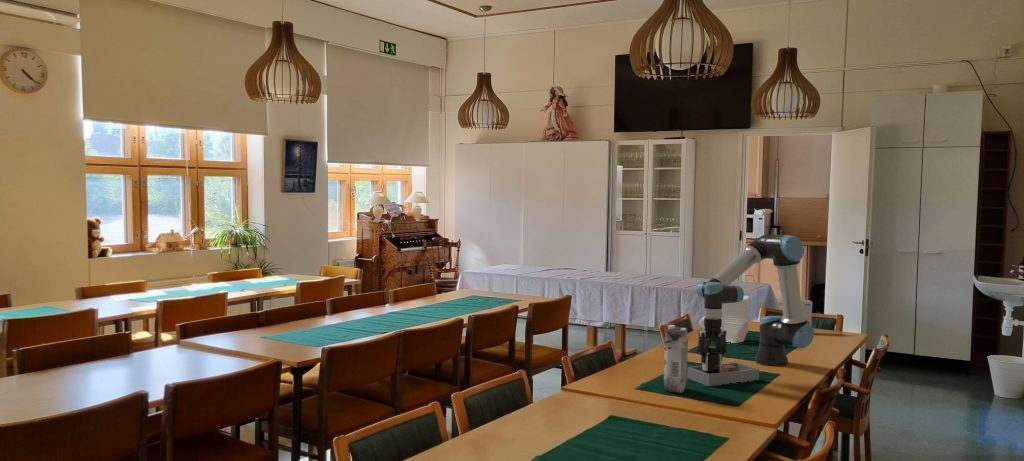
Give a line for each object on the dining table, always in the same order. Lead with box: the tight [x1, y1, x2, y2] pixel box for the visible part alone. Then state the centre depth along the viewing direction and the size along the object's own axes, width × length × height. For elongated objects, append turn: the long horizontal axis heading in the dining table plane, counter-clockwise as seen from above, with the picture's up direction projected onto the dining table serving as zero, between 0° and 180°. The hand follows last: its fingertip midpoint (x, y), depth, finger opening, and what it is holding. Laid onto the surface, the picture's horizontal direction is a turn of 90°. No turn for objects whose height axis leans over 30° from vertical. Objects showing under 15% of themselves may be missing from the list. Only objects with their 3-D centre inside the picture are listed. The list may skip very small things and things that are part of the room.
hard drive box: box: [782, 299, 813, 326], centre depth 437 cm, size 16×8×20 cm, turn 81°
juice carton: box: [663, 324, 689, 394], centre depth 301 cm, size 9×10×27 cm
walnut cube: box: [720, 365, 737, 373], centre depth 322 cm, size 5×5×5 cm
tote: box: [687, 361, 760, 387], centre depth 320 cm, size 28×15×5 cm, turn 114°
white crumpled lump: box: [698, 294, 751, 343], centre depth 411 cm, size 21×27×26 cm
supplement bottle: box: [704, 345, 720, 374], centre depth 317 cm, size 7×7×12 cm
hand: (711, 369), depth 318 cm, fingers closed on supplement bottle, 7 cm apart
